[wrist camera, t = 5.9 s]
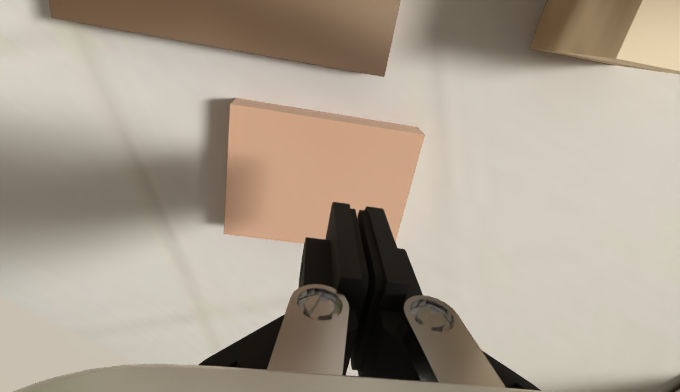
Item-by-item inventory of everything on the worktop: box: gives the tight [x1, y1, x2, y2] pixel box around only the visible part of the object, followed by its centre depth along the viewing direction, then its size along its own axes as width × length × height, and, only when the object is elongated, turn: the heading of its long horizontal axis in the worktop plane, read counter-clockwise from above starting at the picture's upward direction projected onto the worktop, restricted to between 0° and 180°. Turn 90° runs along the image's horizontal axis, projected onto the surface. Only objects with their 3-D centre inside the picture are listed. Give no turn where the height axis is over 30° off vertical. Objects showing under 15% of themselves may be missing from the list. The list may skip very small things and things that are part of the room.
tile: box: [224, 98, 425, 243], centre depth 17 cm, size 6×2×8 cm
